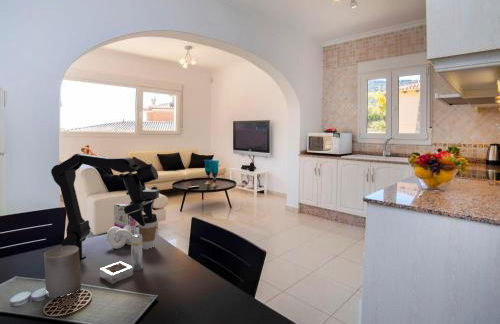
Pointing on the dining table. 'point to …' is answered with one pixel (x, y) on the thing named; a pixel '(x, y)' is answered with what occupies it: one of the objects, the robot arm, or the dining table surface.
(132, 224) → the candy bar box
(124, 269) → the white square flat box
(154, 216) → the coffee cup
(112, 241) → the white knot sculpture
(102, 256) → the dining table surface
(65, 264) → the pillar candle
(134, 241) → the tube
